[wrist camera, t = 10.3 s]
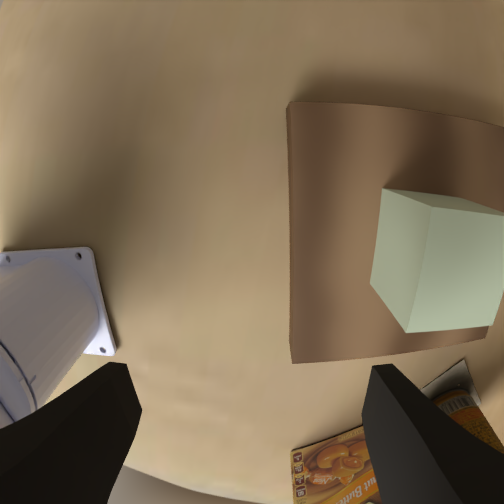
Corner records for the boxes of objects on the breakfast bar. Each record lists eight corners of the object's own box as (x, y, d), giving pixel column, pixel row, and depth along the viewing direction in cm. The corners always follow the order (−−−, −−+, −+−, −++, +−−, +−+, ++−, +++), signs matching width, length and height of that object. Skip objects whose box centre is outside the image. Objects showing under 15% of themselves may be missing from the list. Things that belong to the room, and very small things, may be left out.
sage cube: (369, 283, 16) (405, 333, 11) (381, 188, 14) (431, 206, 10) (445, 283, 16) (492, 325, 11) (460, 197, 14) (519, 218, 10)
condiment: (420, 444, 24) (457, 536, 12) (390, 409, 22) (435, 527, 11) (480, 401, 22) (533, 485, 11) (461, 356, 20) (536, 459, 9)
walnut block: (288, 336, 20) (292, 363, 18) (285, 109, 16) (290, 101, 13) (465, 318, 20) (485, 338, 17) (487, 129, 16) (514, 130, 13)
